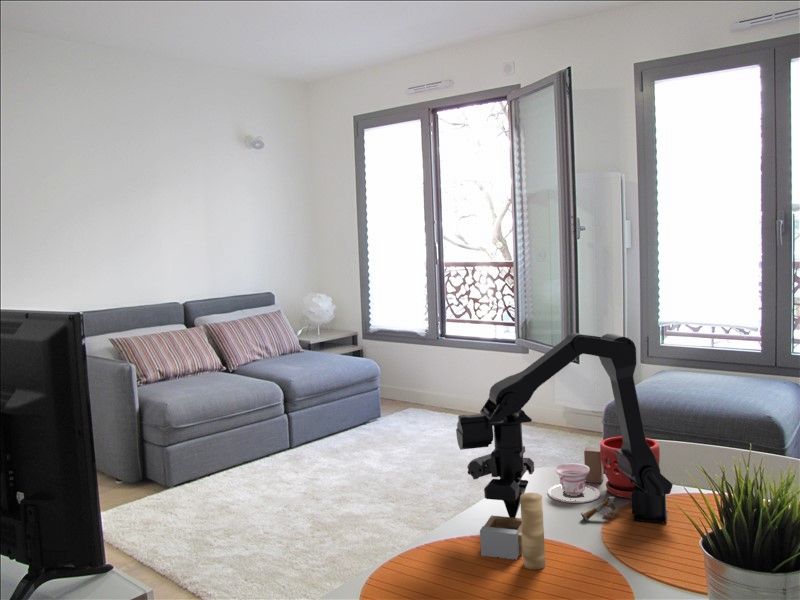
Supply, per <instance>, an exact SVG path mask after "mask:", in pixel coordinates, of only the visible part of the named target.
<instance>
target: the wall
mask: <svg viewBox="0 0 800 600" xmlns="http://www.w3.org/2000/svg"><path fill="white" fill-rule="evenodd" d="M479 536H480V542H479V543H480V556H482V557H489V558H490V557H492V558H497V557H499V558H498V559H505V558H506V559H507V560H514V559H516V561H517V560H518V559H519V557H520V555H519V537H518V530H513V529H504V528H494V527H485V526H484V525H483V526H482V527H481V528H480V530H479ZM518 556H519V557H518ZM517 558H518V559H517Z"/></svg>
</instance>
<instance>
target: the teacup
mask: <svg viewBox="0 0 800 600" xmlns="http://www.w3.org/2000/svg"><path fill="white" fill-rule="evenodd" d="M589 470H590V468H589V467H588V466H586V465H585V464H583V463H576V462H575V463H564V464H563V463H562V464H559V465H558V466H556V467H555V468H554V471H555V473H556V474H557V475H558V478H559V483H560V484H556V485H554V486H551V487H550V488H548V490H547V495H548V496H549V497H550V498H551V499H553V500H556V501H558V502H562V503H567V504H568V503H569V504H582V503H589V502H593V501H596V500H597V499H599V498H600V497H601V492H600V490H599V489H597V488H596V487H594V486H592V485H589V484H585V482H586V481H585V480H586V476H587V475H588V473H589ZM559 486H561V489H562V490H563V491H565V492H564V493H565V494H566V496H569V495H570V496H569V497H578V496H577V495H579V496H581V494H582V493H583V491H584V490H585V487H587V488H590V489H592V490H593V491H595V493H596V495H595V497H594V498H592V499H589V500H585V501H576V500H575V501H566V500H563V499H562V500H561V499H558V498H556V497H554V496H553V495H552V494H551V490H552V489H554V488H556V487H559ZM570 500H571V499H570Z"/></svg>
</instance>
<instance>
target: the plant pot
mask: <svg viewBox="0 0 800 600" xmlns="http://www.w3.org/2000/svg"><path fill="white" fill-rule="evenodd" d="M645 438H646V441H647V444H648V445H649V447H650V449H651V450H652V452H653V454H654V455H655V457H656V460H657V462H658V465H659V466H660V457H661V456H660V455H661V454H660V453H661V452H660V444H659V442H658V441H656V440H654V439H652V438H648V437H645ZM622 444H623V439H622V435H621V436H613V437H609V438H605V439H603V440H601V441H600V443H599V447H600V452H601V461H602V465H603V473H604V474H605V478H606V479H607V481H606V483H605V486H606V489H607V490H608V492H609V493H611V494H613V495H615V496H618V497H619V498H624V499H625V498H626V499H631V494H632V492H634V486H635V485H634V484H632V483H630V480H629V478H628V477H627V476H626V475H624V474H623V472H622V470H621V469H619V468H618V467H617V466H618V459H617V456H616V454H615V450H621V448H622ZM608 459H609V462H608Z"/></svg>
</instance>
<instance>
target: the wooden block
mask: <svg viewBox="0 0 800 600" xmlns="http://www.w3.org/2000/svg"><path fill="white" fill-rule="evenodd" d="M583 456H584V457H583V458H584V459H583V460H584V465H586V466H588V467H589V468H590V470H589V473H588V475H587V476H586V480H585V481H584V482H586V483H594V484H596V483H597V484H602V483H603V479H604V477H605V476H604V474H605V472H604V469H603V465H602V461H601V452H600V446H586V447H585V449H584V450H583Z"/></svg>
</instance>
